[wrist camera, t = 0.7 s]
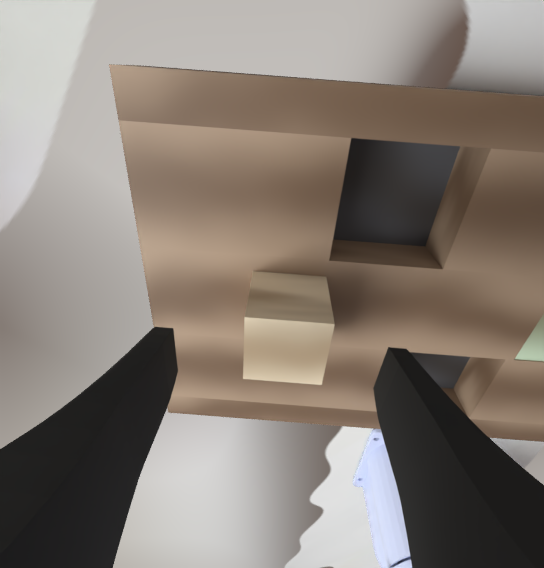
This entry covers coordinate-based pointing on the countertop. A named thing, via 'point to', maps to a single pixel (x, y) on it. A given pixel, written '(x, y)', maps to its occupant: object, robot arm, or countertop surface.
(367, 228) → the trap deck
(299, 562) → the countertop surface
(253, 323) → the beech cube
